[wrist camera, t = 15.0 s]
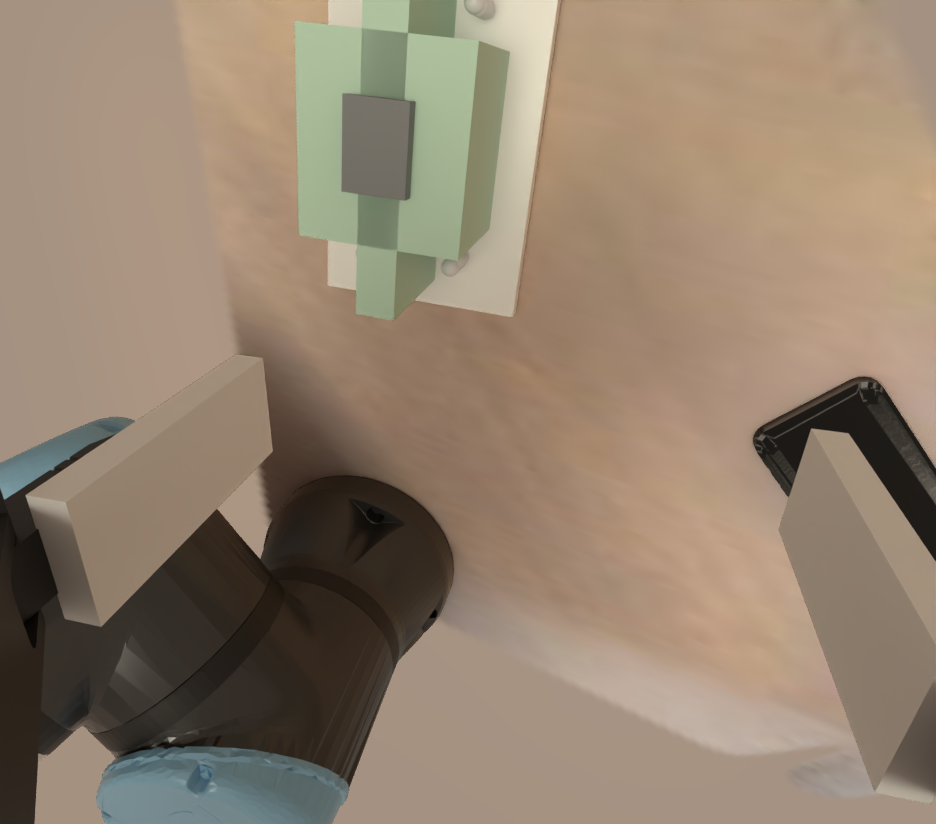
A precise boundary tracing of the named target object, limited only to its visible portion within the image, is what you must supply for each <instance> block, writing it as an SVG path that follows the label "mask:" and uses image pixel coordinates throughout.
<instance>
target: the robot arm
mask: <svg viewBox="0 0 936 824" xmlns="http://www.w3.org/2000/svg"><path fill="white" fill-rule="evenodd" d="M272 452H273V448H272V438H271V429H270V419H269V410H268V400H267V391H266V382H265V372H264V363H263V358H260V357H252V356H244V355H236V354H235V355H234V356H232V357H231V358H229V359H228V360H227V361H225V362H223V363H222V364H221V365H219V366H218V367H216V368H214V369H213V370H211V371H210V372H208V373H207V374H206V375H204V376H202V377H201V378H200V379H198V380H197V381H195V382H194V383H192V384H191V385H189V386H188V387H186V388H185V389H183V390H182V391H180V392H179V393H177V394H176V395H174V396H173V397H172V398H170V399H168V400H167V401H165V402H164V403H162V404H161V405H160V406H158V407H156V408H155V409H153V410H152V411H150V412H149V413H147V414H146V415H144V416H143V417H141V418H140V419H138V420H137V421H134V420H132V419H128V418H123V417H109V418H103V419H99V420H96V421H93V422H90V423H88V424H85V425H83V426H80V427H78V428H76V429H73V430H71V431H69V432H66V433H64V434H62V435H59V436H57V437H55V438H53V439H50V440H48V441H46V442H44V443H42V444H39V445H37V446H35V447H33V448H31V449H29V450H27V451H25V452H22V453H20V454H18V455H16V456H14V457H12V458H10V459H8V460H5V461H3V462H1V463H0V824H34V820H35V802H36V785H37V768H38V761H40V760H42V759H44V758H45V757H46V756H48V755H49V754H50V753H51V752H52V751H54V750H55V749H56V748H57V747H58V746H59V745H60V744H61V743H62V742H63V741H64V740H66V739H67V738H68V737H69V736H70V735H71V734H72V733H73V732H74V731H76V729H78V728H80V727H81V726H84V727H85V728H86V729H88V731H89V732H90V733H91V734H92V735H93V736H94V737H95V738H96V739H98V740H99V741H100V742H101V743H102V744H103V745H104V746H105V747H106V748H107V749H108V750H109V751H110V752H111V753H112V754H113V755H114V757H115V758H116V759H115V760H114V761H113V762H112V763H111V764H110V765H108V767H107V768H106V769H105V770H104V773H103V774H102V780H101V783H100V785H99V788H98V790H97V796H96V801H97V805H98V808H99V809H100V810H102V811H101V812H102V817H103V819H104V821H105V823H106V824H332V822H333V820H334V818H335V816H336V814H337V812H338V810H339V808H340V806H341V805H343V804H344V802H345V801H346V799H347V797H348V791H349V787H350V784H351V781H352V779H353V776H354V774H355V771H356V768H357V766H358V763H359V761H360V758H361V755H362V753H363V750H364V747H365V744H366V742H367V739H368V737H369V734H370V732H371V729H372V727H373V724H374V721H375V719H376V716H377V714H378V711H379V708H380V706H381V703H382V700H383V698H384V695H385V692H386V690H387V687H388V685H389V682H390V680H391V677H392V674H393V671H394V669H395V667H396V664H397V662H398V661H399V660H400V659H401V658H402V656H403V655H404V654H405V653H406V652H407V651H408V650H409V649H410V648H411V647H412V646H413V645H414V644H415V642H416V641H418V639H419V638H420V637H421V636H422V635H423V633H424V632H426V631H427V630H428V629H429V628H430V627H431V626H432V625H433V623H434V622H435V621H436V620H437V618H438V617H439V615H440V613H441V611H442V609H443V607H444V605H445V602H446V599H447V597H448V594H449V591H450V588H451V585H452V580H453V559H452V554H451V551H450V547H449V545H448V542H447V540H446V538H445V536H444V534H443V532H442V531H441V529H440V528H439V526H438V525H437V523H436V522H435V521H434V519H433V518H432V517H431V516H430V515H429V514H428V513H427V512H426V511H425V510H424V509H423V508H422V507H421V506H420V505H419V504H417V503H416V502H415V501H414V500H412V499H411V498H409V497H408V496H406V495H405V494H403V493H402V492H400V491H398V490H396V489H394V488H392V487H390V486H388V485H385V484H383V483H380V482H377V481H374V480H370V479H366V478H360V477H353V476H335V477H327V478H323V479H319V480H316V481H313V482H311V483H308V484H307V485H305V486H303V487H301V488H300V489H298V490H297V491H296V492H295V493H294V494H293V495H292V496H291V497H290V498H289V499H288V500H287V501H286V503H285V504H284V505H283V506H282V507H281V509H280V510H279V511H278V512H277V514H276V515H275V517H274V518H273V520H272V522H271V524H270V526H269V528H268V531H267V534H266V539H265V543H264V550H263V553H262V556H261V559H259V558H258V557H257V555H256V554H255V553H254V552H253V551H252V550H251V548H250V547H249V546H248V545H247V544H246V543H245V542H244V541H243V539H242V538H241V537H240V536H239V535H238V533H237V532H236V531H235V530H234V529H233V527H232V526H231V525H230V524H229V523H228V521H227V520H226V519H225V518H224V517H223V515H222V514H221V513H220V512H219V511H218V510H217V508H218V507H219V506H220V505H221V504H222V503H223V502H224V501H225V500H226V499H227V497H229V496H230V495H231V494H232V492H234V491H235V490H236V488H238V486H239V485H240V484H241V483H242V482H243V481H244V480H245V479H246V478H247V477H248V476H249V475H250V474H251V473H252V472H253V471H254V470H255V469H256V468H257V467H258V466H259V465H260V464H261V463H262V462H263V461H264V460H265V459H266V458H267V457H268V456H269V455H270V454H271V453H272ZM779 532H780V535H781V537H782V540H783V543H784V546H785V548H786V551H787V554H788V557H789V559H790V562H791V565H792V567H793V570H794V573H795V576H796V578H797V581H798V584H799V587H800V589H801V592H802V595H803V598H804V600H805V603H806V606H807V608H808V611H809V614H810V617H811V619H812V622H813V625H814V628H815V630H816V633H817V636H818V638H819V641H820V644H821V647H822V649H823V652H824V655H825V658H826V660H827V663H828V666H829V668H830V671H831V674H832V677H833V679H834V682H835V685H836V688H837V690H838V693H839V696H840V699H841V701H842V704H843V707H844V709H845V712H846V715H847V718H848V720H849V723H850V726H851V729H852V731H853V734H854V737H855V739H856V742H857V745H858V748H859V750H860V753H861V756H862V759H863V761H864V764H865V767H866V769H867V772H868V775H869V778H870V780H871V783H872V786H873V789H874V791H875V792H876V793H881V794H886V795H890V796H895V797H900V798H904V799H909V800H914V801H918V802H923V803H928V804H931V803H932V802H933V800H934V798H935V797H936V561H935V560H934V558H933V557H932V556H931V554H930V553H929V551H928V550H927V548H926V547H925V545H924V544H923V542H922V541H921V539H920V538H919V536H918V535H917V533H916V532H915V530H914V529H913V528H912V526H911V525H910V523H909V522H908V520H907V519H906V517H905V516H904V514H903V513H902V511H901V510H900V508H899V507H898V505H897V504H896V502H895V501H894V500H893V498H892V497H891V495H890V494H889V492H888V491H887V489H886V488H885V486H884V485H883V483H882V482H881V480H880V479H879V477H878V476H877V474H876V473H875V472H874V470H873V469H872V467H871V466H870V464H869V463H868V461H867V460H866V458H865V457H864V455H863V454H862V452H861V451H860V449H859V448H858V446H857V445H856V444H855V442H854V441H853V439H852V438H851V436H850V435H849V433H842V432H834V431H827V430H819V429H811V431H810V434H809V437H808V440H807V443H806V446H805V450H804V453H803V456H802V459H801V462H800V465H799V468H798V471H797V474H796V477H795V480H794V483H793V487H792V490H791V493H790V496H789V499H788V502H787V505H786V508H785V511H784V514H783V517H782V520H781V524H780V527H779Z"/></svg>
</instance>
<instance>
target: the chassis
mask: <svg viewBox="0 0 936 824" xmlns="http://www.w3.org/2000/svg"><path fill="white" fill-rule="evenodd" d="M560 5H561V0H457V7H456V20H455V32H454V38H458V39H468V40H477V41H481V42H484V43H487V44H490V45H492V46H495V47H498V48H501V49H504V50H506V51H509V52H510V56H509V65H508V73H507V82H506V90H505V99H504V108H503V116H502V125H501V134H500V142H499V151H498V159H497V168H496V177H495V185H494V194H493V203H492V211H491V220H490V229H489V230H488V231H487V232H486V233H485V234H484V235H483V236H482V237H481V238H480V239H479V240H478V241H477V242H476V243H475V244H474V245H473V246H472V247H471V248H470V249H469V250H468V251H467V252H466V253H465V254H464V255H463V256H462V257H461V258H460V259H459V260H458V261H456V260H450V259H443V258H436V271H435V280H434V281H433V282H432V283H431V284H430V285H429V286H428V287H427V288H426V289H425V290H424V291H423V292H422V293H421V294H420V295H419V296H418V297H417V298H416V299H415V301H420V302H426V303H432V304H438V305H444V306H449V307H455V308H461V309H467V310H473V311H478V312H484V313H490V314H496V315H502V316H508V317H513V315H514V313H515V311H516V308H517V301H518V294H519V287H520V280H521V274H522V267H523V260H524V253H525V246H526V239H527V232H528V225H529V218H530V212H531V205H532V198H533V191H534V184H535V177H536V170H537V163H538V156H539V150H540V143H541V136H542V129H543V122H544V115H545V108H546V101H547V94H548V87H549V81H550V74H551V67H552V60H553V53H554V46H555V39H556V32H557V25H558V19H559V12H560ZM328 25H338V26H347V27H356V28H362V0H328ZM356 273H357V245H355V244H349V243H343V242H337V241H330V240H328V286H333V287H339V288H345V289H351V290H356Z"/></svg>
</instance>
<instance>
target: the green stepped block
mask: <svg viewBox="0 0 936 824" xmlns="http://www.w3.org/2000/svg"><path fill="white" fill-rule="evenodd" d="M456 7H457V0H362V28H356V27H347V26H338V25H328V24H319V23H310V22H300V21H295V67H296V117H297V167H298V217H299V236H305V237H311V238H318V239H324V240H330V241H337V242H343V243H349V244H355V245H357V273H356V314H358V315H364V316H370V317H376V318H381V319H387V320H394V319H395V318H397V317H398V316H399V315H400V314H401V313H402V312H403V311H404V310H405V309H406V308H407V307H408V306H409V305H410V304H411V303H412V302H413V301H414V300H415V299H416V298H417V297H418V296H419V295H420V294H421V293H422V292H423V291H424V290H425V289H426V288H427V287H428V286H429V285H430V284H431V283H432V282H433V281H434V280H435V271H436V258H443V259H450V260H456V261H458V260H459V259H460V258H461V257H462V256H463V255H464V254H465V253H466V252H467V251H468V250H469V249H470V248H471V247H472V246H473V245H474V244H475V243H476V242H477V241H478V240H479V239H480V238H481V237H482V236H483V235H484V234H485V233H486V232H487V231H488V230H489V229H490V220H491V211H492V203H493V194H494V185H495V177H496V168H497V159H498V151H499V142H500V134H501V125H502V116H503V108H504V99H505V90H506V82H507V73H508V65H509V56H510V52H509V51H506V50H504V49H501V48H498V47H495V46H492V45H490V44H487V43H484V42H481V41H477V40H468V39H458V38H454V32H455V20H456Z"/></svg>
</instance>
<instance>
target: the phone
mask: <svg viewBox="0 0 936 824" xmlns="http://www.w3.org/2000/svg"><path fill="white" fill-rule="evenodd" d="M811 429H819V430H827V431H834V432H842V433H849V435H850V436H851V438H852V439H853V441H854V442H855V444H856V445H857V446H858V448H859V449H860V451H861V452H862V454H863V455H864V457H865V458H866V460H867V461H868V463H869V464H870V466H871V467H872V469H873V470H874V472H875V473H876V474H877V476H878V477H879V479H880V480H881V482H882V483H883V485H884V486H885V488H886V489H887V491H888V492H889V494H890V495H891V497H892V498H893V500H894V501H895V502H896V504H897V505H898V507H899V508H900V510H901V511H902V513H903V514H904V516H905V517H906V519H907V520H908V522H909V523H910V525H911V526H912V528H913V529H914V530H915V532H916V533H917V535H918V536H919V538H920V539H921V541H922V542H923V544H924V545H925V547H926V548H927V550H928V551H929V553H930V554H931V556H932V557H933V558H934V560H935V561H936V468H935V467H934V465H933V464H932V462H931V460H930V459H929V457H928V456H927V454H926V453H925V451H924V450H923V448H922V447H921V445H920V443H919V442H918V440H917V439H916V437H915V436H914V434H913V433H912V431H911V430H910V428H909V426H908V425H907V423H906V422H905V420H904V419H903V417H902V416H901V414H900V413H899V411H898V409H897V408H896V406H895V405H894V403H893V402H892V400H891V399H890V397H889V396H888V394H887V392H886V391H885V389H884V388H883V387H882V386H881V385H880V384H879V383H878V382H877V381H876V380H874V379H872V378H870V377H857V378H854V379H851V380H849V381H847V382H845V383H843V384H841V385H840V386H838V387H836V388H834V389H832V390H830V391H828V392H826V393H824V394H822V395H820V396H819V397H817V398H815V399H813V400H811V401H809V402H807V403H805V404H803V405H801V406H799V407H797V408H796V409H794V410H792V411H790V412H788V413H786V414H784V415H782V416H780V417H778V418H776V419H774V420H773V421H771V422H769V423H767V424H765V425H763V426H762V427H760V428H759V429H758V430H757V431H756V433H755V435H754V438H753V441H754V446H755V448H756V451H757V453H758V455H759V456H760V457H761V459H762V461H763V462H764V464H765V465H766V466H767V467H768V468H769V470H770V471H771V473H772V475H773V476H774V478H775V479H776V480H777V482H778V483H779V484H780V485H781V488H782V489H783V491H784V492H785V493H786V495H787V496H788V497H789V496H790V493H791V490H792V487H793V483H794V480H795V477H796V474H797V471H798V468H799V465H800V462H801V459H802V456H803V453H804V450H805V446H806V443H807V440H808V437H809V434H810V431H811Z"/></svg>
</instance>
